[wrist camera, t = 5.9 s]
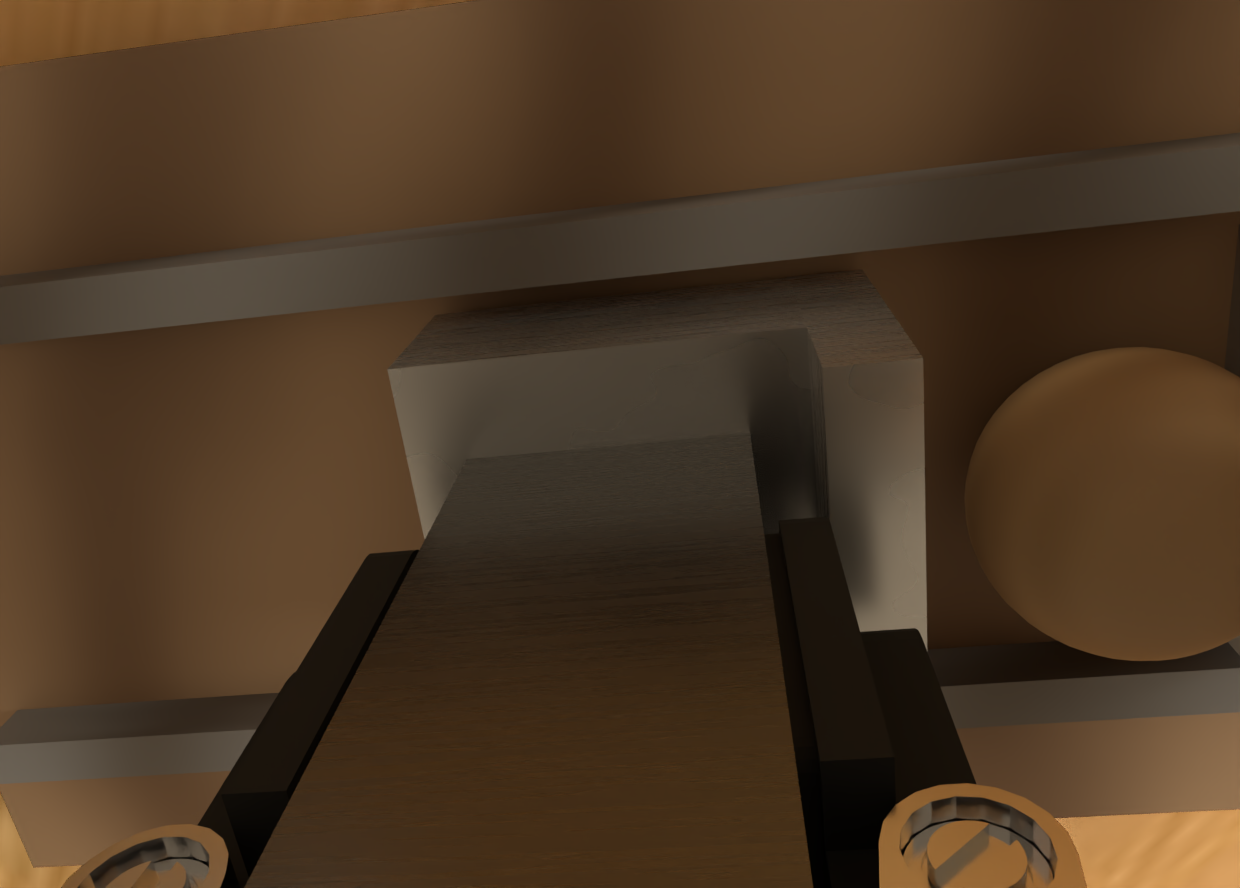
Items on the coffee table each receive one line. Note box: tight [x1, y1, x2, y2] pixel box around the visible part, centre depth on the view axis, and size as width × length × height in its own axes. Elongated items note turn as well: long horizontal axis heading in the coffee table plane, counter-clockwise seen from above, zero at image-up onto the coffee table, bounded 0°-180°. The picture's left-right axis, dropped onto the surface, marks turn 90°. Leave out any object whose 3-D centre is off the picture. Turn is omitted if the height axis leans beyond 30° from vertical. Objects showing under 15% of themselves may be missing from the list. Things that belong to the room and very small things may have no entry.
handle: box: [244, 270, 927, 888], centre depth 11 cm, size 6×6×10 cm
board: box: [0, 0, 1240, 868], centre depth 14 cm, size 24×14×6 cm, turn 97°
